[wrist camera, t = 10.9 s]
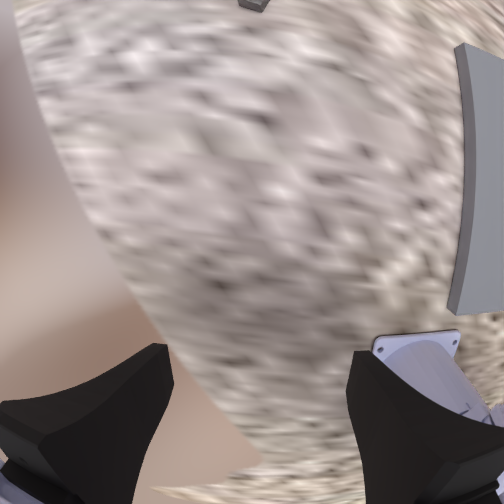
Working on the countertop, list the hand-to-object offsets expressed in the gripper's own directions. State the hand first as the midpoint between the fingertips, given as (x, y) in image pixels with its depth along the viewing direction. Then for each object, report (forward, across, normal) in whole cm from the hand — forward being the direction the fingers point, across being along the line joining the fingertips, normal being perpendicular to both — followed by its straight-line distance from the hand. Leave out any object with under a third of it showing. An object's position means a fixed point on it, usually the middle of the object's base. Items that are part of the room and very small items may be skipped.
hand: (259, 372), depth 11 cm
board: (+9, -24, -8) cm, 27 cm away
